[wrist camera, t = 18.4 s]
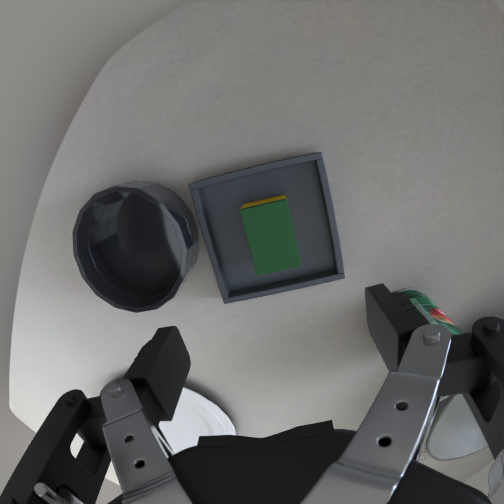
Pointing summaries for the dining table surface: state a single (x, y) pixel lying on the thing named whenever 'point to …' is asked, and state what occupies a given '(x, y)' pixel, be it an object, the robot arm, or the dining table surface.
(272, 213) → the sponge
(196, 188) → the sponge dish
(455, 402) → the bowl
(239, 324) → the dining table surface
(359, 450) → the robot arm
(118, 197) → the black bowl
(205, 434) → the plate
